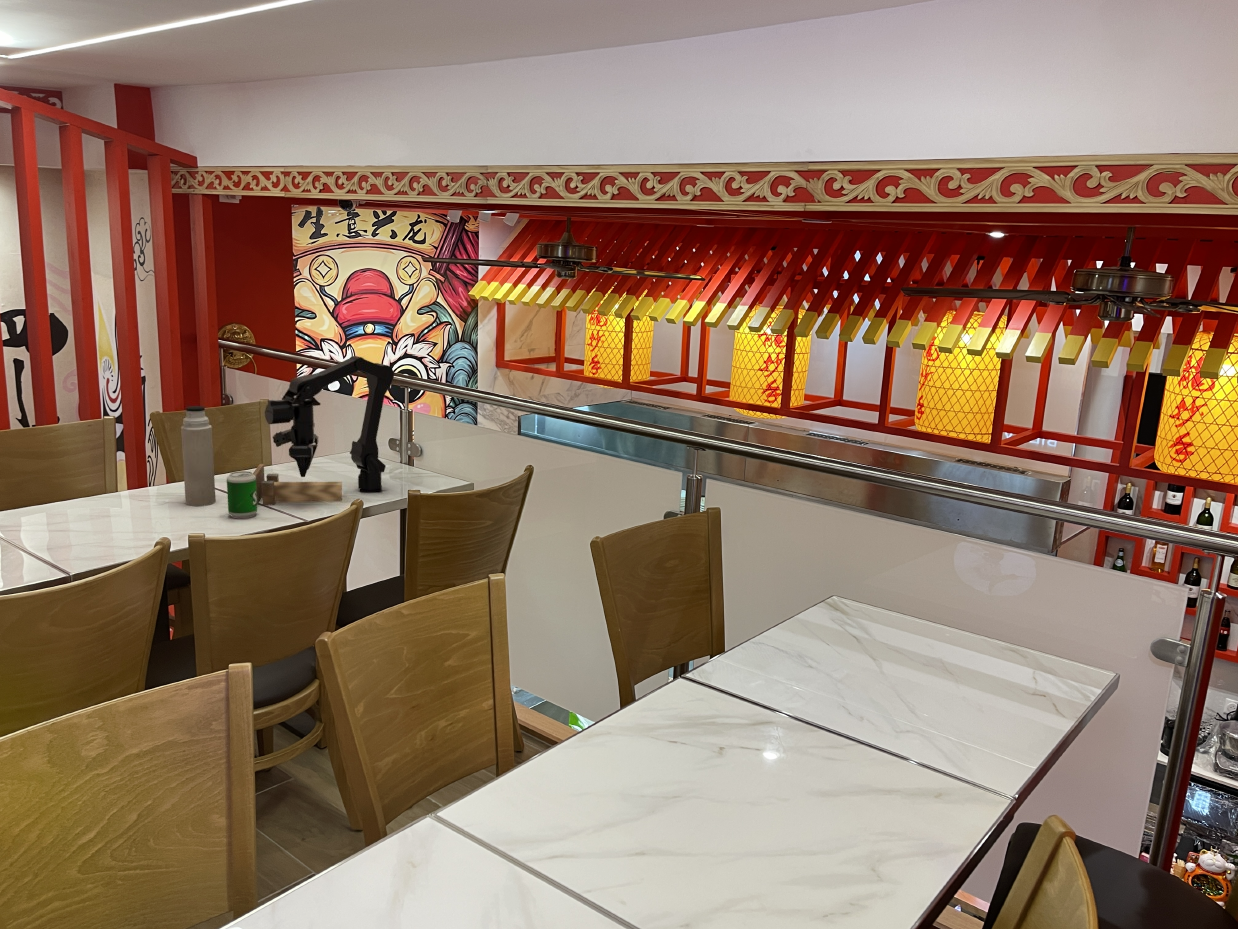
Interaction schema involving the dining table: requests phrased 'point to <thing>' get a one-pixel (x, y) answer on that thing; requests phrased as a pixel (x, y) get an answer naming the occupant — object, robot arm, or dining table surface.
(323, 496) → the rail
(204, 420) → the thermos bottle
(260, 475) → the headboard
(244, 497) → the soda can
